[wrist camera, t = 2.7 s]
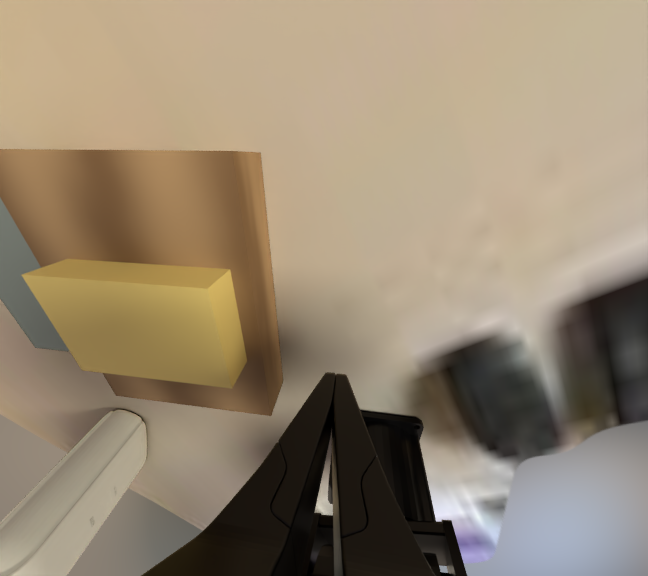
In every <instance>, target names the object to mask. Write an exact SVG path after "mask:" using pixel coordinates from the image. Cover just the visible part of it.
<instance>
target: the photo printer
mask: <svg viewBox="0 0 648 576" xmlns="http://www.w3.org/2000/svg"><path fill="white" fill-rule="evenodd" d="M146 458H147V434H146V426H145V423H144V422H143V421H142V419H141V417H139V416H138V415H136V414H134V413H132V412H129V411H125V410H116V411H110V412H109V413H107V414H106V415H105V416H104V417H103V418H102V419H101V420H100V421H99V422H98V423H97V424H96V425H95V426H94V427H93V428H92V429H91V430H90V431H89V432H88V433H87V434H86V435H85V436H84V437H83V438H82V439H81V440H80V441H79V442H78V443H77V444H76V445H75V446H74V447H73V449H72V450H71V451H70V452H69V453H68V454H67V455H66V456H65V457H64V458H63V459H62V460H61V461H60V462H59V463H58V464H57V465H56V466H55V467H54V468H53V469H52V470H51V471H50V472H49V473H48V474H47V475H46V476H45V477H44V478H43V479H42V480H41V481H40V482H39V483H38V484H37V485H36V486H35V487H34V488H33V489H32V490H31V491H30V492H29V493H28V494H27V496H25V497H24V498H23V500H21V501H20V503H18V504H17V506H15V507H14V509H13V510H11V512H10V513H9V514H8V515H7V516H6V517H5V518H4V519H3V520H2V521H1V522H0V576H67V574H68V573H69V571H70V570H71V568H72V567H73V566H74V564H75V563H76V561H77V560H78V559H79V557H80V556H81V554H82V553H83V552H84V550H85V549H86V547H87V546H88V544H89V543H90V542H91V540H92V539H93V537H94V536H95V535H96V533H97V532H98V530H99V529H100V527H101V526H102V524H103V523H104V522H105V520H106V519H107V517H108V516H109V514H110V513H111V511H112V510H113V509H114V507H115V506H116V504H117V503H118V502H119V500H120V499H121V497H122V496H123V494H124V493H125V492H126V490H127V489H128V487H129V486H130V484H131V483H132V481H133V480H134V479H135V477H136V476H137V474H138V473H139V471H140V470H141V468H142V467H143V465H144V463H145V461H146Z"/></svg>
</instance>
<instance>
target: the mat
mask: <svg viewBox="0 0 648 576" xmlns="http://www.w3.org/2000/svg"><path fill="white" fill-rule="evenodd" d="M39 268H41V266H40V265H39V263H38V261H37V260H36V258H35V256H34V255H33V253H32V251H31V249H30V248H29V246H28V244H27V243H26V241H25V239H24V237H23V236H22V234H21V232H20V231H19V229H18V227H17V225H16V224H15V222H14V220H13V219H12V217H11V215H10V213H9V212H8V210H7V208H6V207H5V205H4V203H3V201H2V200H1V198H0V299H1V300H2V302H3V303H4V304H5V306H6V307H7V309H8V310H9V311H10V313H11V314H12V316H13V317H14V318H15V320H16V321H17V323H18V324H19V325H20V327H21V328H22V330H23V331H24V332H25V334H26V335H27V337H28V338H29V339H30V341H31V342H32V344H33V345H34V346H35V348H43V349H52V350H61V351H69V349H68V348H67V346H66V345H65V343H64V341H63V340H62V338H61V337H60V335H59V334H58V332H57V330H56V329H55V327H54V326H53V324H52V322H51V321H50V319H49V318H48V316H47V315H46V313H45V311H44V310H43V308H42V307H41V305H40V304H39V302H38V300H37V299H36V297H35V296H34V294H33V293H32V291H31V289H30V288H29V286H28V285H27V283H26V282H25V280H24V278H23V277H22V274H25V273H28V272H31V271H34V270H37V269H39Z"/></svg>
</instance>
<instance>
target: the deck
mask: <svg viewBox="0 0 648 576" xmlns="http://www.w3.org/2000/svg"><path fill="white" fill-rule="evenodd" d="M0 198H1V200H2V201H3V203H4V205H5V207H6V208H7V210H8V212H9V213H10V215H11V217H12V219H13V220H14V222H15V224H16V225H17V227H18V229H19V231H20V232H21V234H22V236H23V237H24V239H25V241H26V243H27V244H28V246H29V248H30V249H31V251H32V253H33V255H34V256H35V258H36V260H37V261H38V263H39V265H40V266H41V268H42V267H45V266H48V265H51V264H54V263H57V262H60V261H63V260H66V259H78V260H93V261H109V262H124V263H140V264H155V265H171V266H186V267H202V268H217V269H230V271H231V277H232V282H233V287H234V293H235V298H236V303H237V309H238V314H239V319H240V325H241V330H242V335H243V341H244V346H245V351H246V357H247V362H246V364H245V366H244V368H243V370H242V371H241V373H240V375H239V377H238V379H237V380H236V382H235V384H234V386H233V388H232V389H231V388H223V387H215V386H207V385H198V384H190V383H182V382H174V381H166V380H157V379H149V378H141V377H133V376H124V375H116V374H108V373H103V374H104V376H105V378H106V380H107V381H108V383H109V385H110V386H111V388H112V390H113V392H114V393H115V395H116V396H124V397H131V398H139V399H147V400H154V401H162V402H169V403H177V404H185V405H192V406H200V407H207V408H215V409H222V410H230V411H238V412H245V413H253V414H260V415H268V416H271V415H272V412H273V409H274V406H275V403H276V400H277V397H278V395H279V392H280V389H281V386H282V383H283V375H282V365H281V355H280V345H279V335H278V325H277V315H276V305H275V294H274V284H273V274H272V264H271V254H270V244H269V234H268V224H267V214H266V204H265V194H264V184H263V173H262V163H261V153H256V152H238V151H147V150H25V149H0Z"/></svg>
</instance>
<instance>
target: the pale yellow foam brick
mask: <svg viewBox="0 0 648 576" xmlns="http://www.w3.org/2000/svg"><path fill="white" fill-rule="evenodd" d="M22 277H23V278H24V280H25V282H26V283H27V285H28V286H29V288H30V289H31V291H32V293H33V294H34V296H35V297H36V299H37V300H38V302H39V304H40V305H41V307H42V308H43V310H44V311H45V313H46V315H47V316H48V318H49V319H50V321H51V322H52V324H53V326H54V327H55V329H56V330H57V332H58V334H59V335H60V337H61V338H62V340H63V341H64V343H65V345H66V346H67V348H68V349H69V351H70V352H71V354H72V356H73V357H74V359H75V360H76V362H77V363H78V365H79V367H80V368H81V370H83V371H91V372H100V373H108V374H116V375H124V376H133V377H141V378H149V379H157V380H166V381H174V382H182V383H190V384H198V385H207V386H215V387H223V388H231V389H232V388H233V386H234V384H235V382H236V380H237V379H238V377H239V375H240V373H241V371H242V370H243V368H244V366H245V364H246V362H247V357H246V351H245V346H244V341H243V335H242V330H241V325H240V319H239V314H238V309H237V303H236V298H235V293H234V287H233V282H232V277H231V271H230V269H217V268H202V267H186V266H171V265H155V264H140V263H124V262H109V261H93V260H78V259H66V260H63V261H60V262H57V263H54V264H51V265H48V266H45V267H42V268H39V269H37V270H34V271H31V272H28V273H25V274H22Z"/></svg>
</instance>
